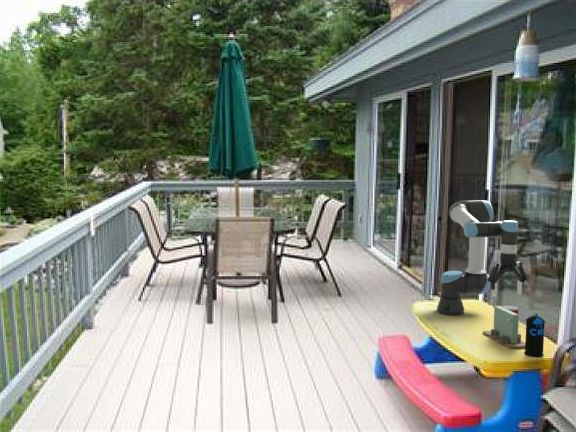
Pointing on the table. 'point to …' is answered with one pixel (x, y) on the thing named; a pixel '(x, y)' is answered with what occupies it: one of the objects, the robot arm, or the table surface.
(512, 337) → the door
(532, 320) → the aerosol can
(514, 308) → the canned food
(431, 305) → the table surface
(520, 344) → the hinge board
